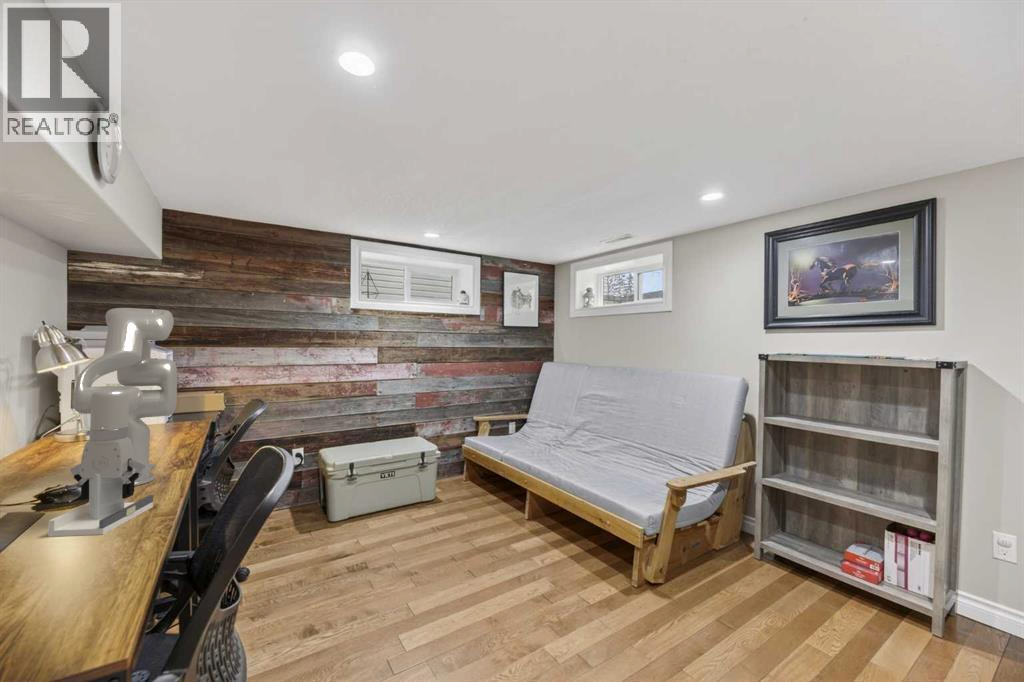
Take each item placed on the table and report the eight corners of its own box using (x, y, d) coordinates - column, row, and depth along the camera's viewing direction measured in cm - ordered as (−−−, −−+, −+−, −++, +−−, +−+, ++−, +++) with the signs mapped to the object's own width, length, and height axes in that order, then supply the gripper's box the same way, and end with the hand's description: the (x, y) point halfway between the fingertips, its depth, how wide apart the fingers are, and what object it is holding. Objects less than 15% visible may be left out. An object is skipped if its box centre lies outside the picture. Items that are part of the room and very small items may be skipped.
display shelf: (106, 508, 122) (107, 494, 122) (152, 506, 123) (153, 493, 123) (48, 536, 104) (48, 520, 104) (103, 534, 106) (103, 518, 106)
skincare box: (116, 509, 117) (117, 466, 118) (124, 512, 116) (125, 468, 116) (87, 517, 112) (88, 472, 112) (95, 520, 110) (97, 474, 110)
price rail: (149, 501, 123) (149, 495, 123) (153, 501, 123) (154, 494, 123) (99, 528, 106) (99, 520, 106) (104, 528, 106) (104, 520, 106)
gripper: (60, 438, 109) (58, 504, 109) (134, 437, 111) (133, 501, 111) (85, 432, 116) (83, 493, 116) (154, 431, 119) (152, 491, 119)
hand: (107, 497), depth 114 cm, fingers open, 9 cm apart
